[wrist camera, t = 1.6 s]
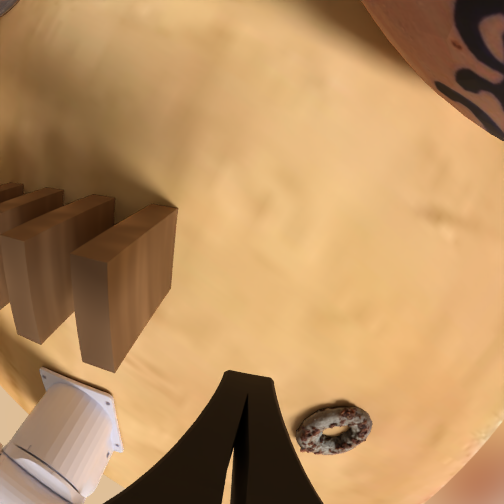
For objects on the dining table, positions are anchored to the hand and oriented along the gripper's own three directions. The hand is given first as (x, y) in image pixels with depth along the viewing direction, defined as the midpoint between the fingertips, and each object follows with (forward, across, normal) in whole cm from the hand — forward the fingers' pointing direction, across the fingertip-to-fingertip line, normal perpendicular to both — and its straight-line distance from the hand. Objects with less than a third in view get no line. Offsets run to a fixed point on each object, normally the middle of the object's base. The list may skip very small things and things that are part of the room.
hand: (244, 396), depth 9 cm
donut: (+11, -8, +13) cm, 19 cm away
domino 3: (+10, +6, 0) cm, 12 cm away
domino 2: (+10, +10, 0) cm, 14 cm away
